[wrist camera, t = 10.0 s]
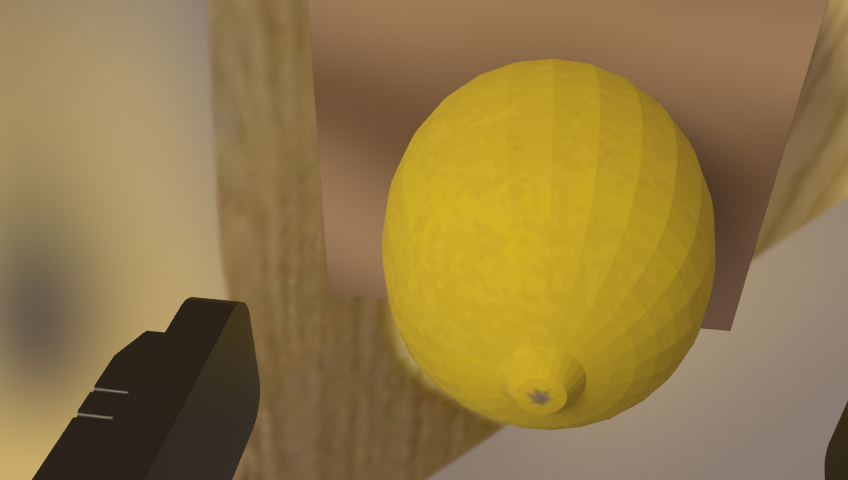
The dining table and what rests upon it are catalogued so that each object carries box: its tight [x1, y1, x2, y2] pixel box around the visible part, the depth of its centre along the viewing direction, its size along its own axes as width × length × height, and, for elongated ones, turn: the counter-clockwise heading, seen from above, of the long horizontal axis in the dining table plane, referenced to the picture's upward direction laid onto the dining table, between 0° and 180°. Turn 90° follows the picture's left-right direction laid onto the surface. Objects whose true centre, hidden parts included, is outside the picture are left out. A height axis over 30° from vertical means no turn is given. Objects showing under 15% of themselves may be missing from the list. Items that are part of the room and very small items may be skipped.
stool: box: [308, 0, 828, 331], centre depth 20 cm, size 10×10×8 cm
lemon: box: [382, 59, 715, 430], centre depth 14 cm, size 6×6×8 cm
